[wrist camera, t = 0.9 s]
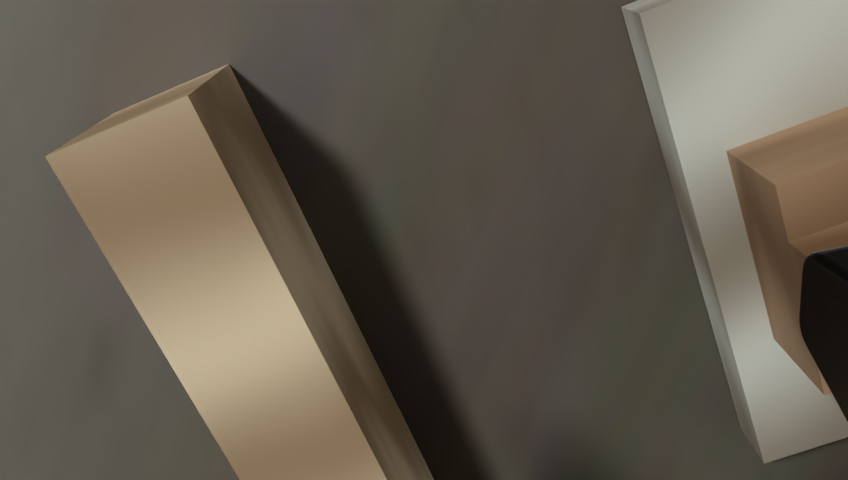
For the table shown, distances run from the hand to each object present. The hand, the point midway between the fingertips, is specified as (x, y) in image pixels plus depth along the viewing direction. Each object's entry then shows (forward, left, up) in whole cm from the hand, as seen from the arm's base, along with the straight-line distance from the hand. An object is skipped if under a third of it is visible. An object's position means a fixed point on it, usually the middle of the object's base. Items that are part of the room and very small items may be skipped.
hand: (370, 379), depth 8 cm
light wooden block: (-5, +4, -12) cm, 14 cm away
